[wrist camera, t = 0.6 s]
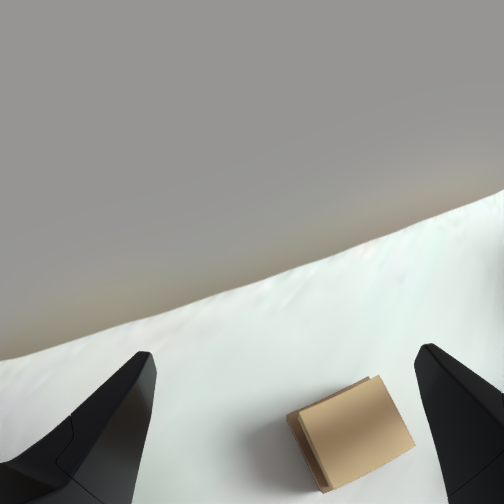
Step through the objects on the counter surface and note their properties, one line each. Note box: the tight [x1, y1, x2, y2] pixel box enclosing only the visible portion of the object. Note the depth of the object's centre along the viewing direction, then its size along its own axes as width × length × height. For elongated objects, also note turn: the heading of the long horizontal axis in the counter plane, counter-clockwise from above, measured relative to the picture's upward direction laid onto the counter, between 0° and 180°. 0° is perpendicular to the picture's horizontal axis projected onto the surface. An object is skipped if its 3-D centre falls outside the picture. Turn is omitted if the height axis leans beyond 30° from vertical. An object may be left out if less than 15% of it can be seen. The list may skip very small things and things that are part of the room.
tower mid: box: [298, 375, 416, 489], centre depth 18 cm, size 6×6×3 cm
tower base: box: [287, 376, 370, 494], centre depth 20 cm, size 7×7×3 cm
